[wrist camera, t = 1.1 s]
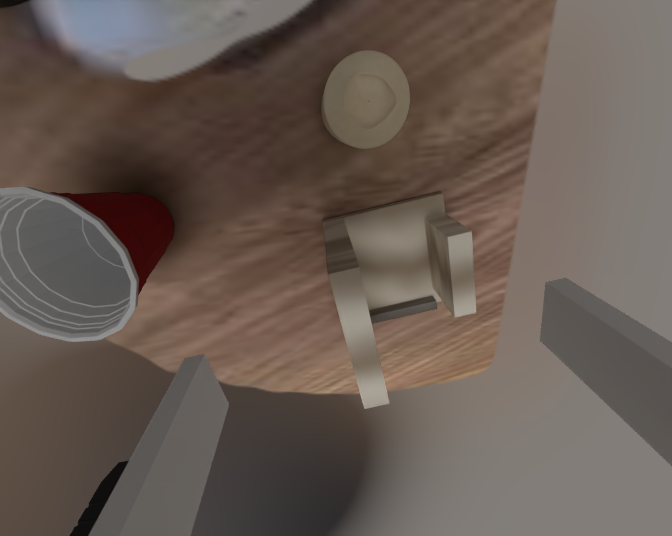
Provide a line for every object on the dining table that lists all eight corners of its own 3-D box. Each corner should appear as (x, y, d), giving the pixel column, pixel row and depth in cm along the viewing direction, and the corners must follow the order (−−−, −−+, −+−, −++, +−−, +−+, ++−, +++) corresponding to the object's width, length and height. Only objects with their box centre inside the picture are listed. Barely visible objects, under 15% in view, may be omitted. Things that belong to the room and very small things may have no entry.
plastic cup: (55, 185, 28) (-107, 219, 18) (165, 149, 28) (68, 161, 17) (121, 286, 33) (25, 364, 22) (218, 257, 32) (168, 322, 21)
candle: (388, 78, 27) (426, 51, 18) (377, 147, 29) (406, 155, 20) (324, 69, 26) (329, 36, 17) (318, 139, 28) (319, 144, 19)
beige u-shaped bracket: (322, 220, 31) (326, 275, 20) (440, 191, 31) (516, 229, 19) (347, 318, 36) (363, 409, 25) (449, 295, 36) (515, 375, 24)
